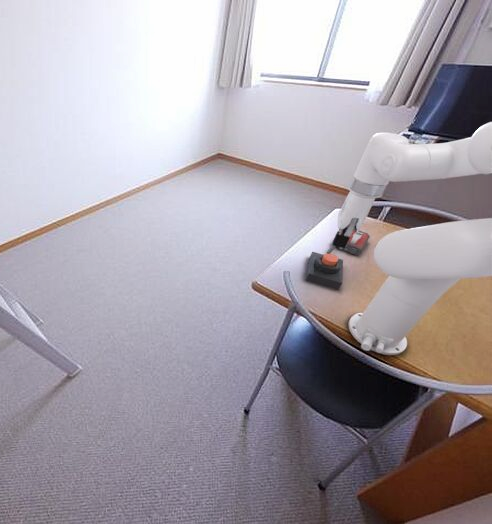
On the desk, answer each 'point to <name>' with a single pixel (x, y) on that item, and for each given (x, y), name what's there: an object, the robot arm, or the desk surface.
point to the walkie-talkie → (354, 243)
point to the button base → (324, 272)
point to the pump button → (329, 259)
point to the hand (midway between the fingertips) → (338, 245)
